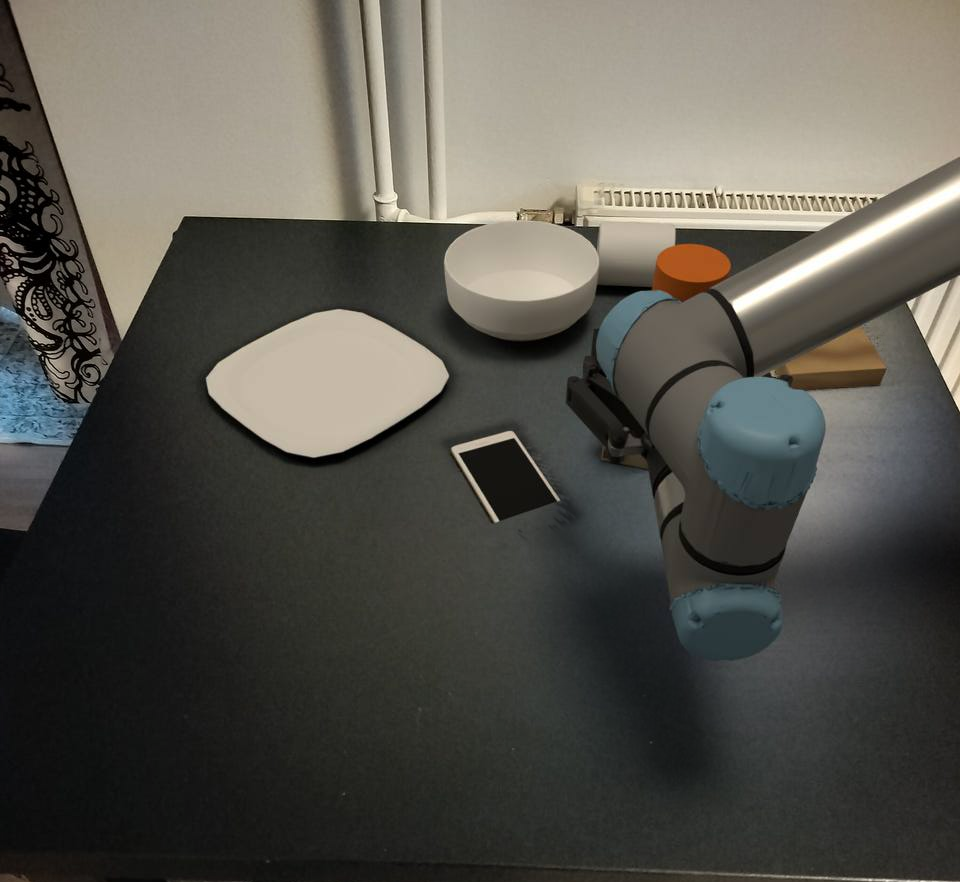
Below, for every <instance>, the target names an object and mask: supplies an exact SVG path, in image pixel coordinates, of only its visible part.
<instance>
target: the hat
mask: <svg viewBox="0 0 960 882" xmlns="http://www.w3.org/2000/svg"><path fill="white" fill-rule="evenodd" d="M731 268H732V265H731V261H730V259H729V257H728V256H727V255H726V254H725V253H723V252H722V251H720V250H718V249H716V248H714V247H711V246H707V245H703V244H696V243H681V244H675V246H671V247H668V248H666V249H665V250H663V251H662V252H661V253H660V254H659V255H658V257H657V260H656V267H655V273H654V280H653V286H652V287H651V291H652V290H660V291H664V292H666V293H668V294H670V295H671V296H672V297H675V298H676V299H678V300H679V301H681V302H682V303H683V302H684V301H686V300H688V299H690V298H692V297H694V296H696V295H697V294H699V293H703V292H705V291H706V290H708V289H709V288H711V287H713V286H715V285H716V284H718V283H720V282H722V281H724V280H726V279H728V278H730V272H731Z"/></svg>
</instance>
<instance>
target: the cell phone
mask: <svg viewBox="0 0 960 882" xmlns="http://www.w3.org/2000/svg"><path fill="white" fill-rule="evenodd" d="M450 449H451V454H452V456H453V457H454V459H455V461H456V462H457V464H458V465H459V467H460V469H461V471H462V472H463V474H464V475H465V477H466V479H467V481H468V483H469V484H470V485H471V488H472V489H473V490H474V493H475V494H476V496H477V497H478V499H479V500H480V502H481V504H482V505H483V507H484V509H485V510H486V512H487V513H488V516H489V517H490V519H491V521H492V522H493V524H496V523H498V522H501V521H505V520H507V519H510V518H513V517H517V516H519V515H522V514H524V513H528V512H531V511H534V510H536V509H539V508H543V507H545V506H548V505H551V504H554V503H557V502H559V501H561V499H560V497H559V496H558V495H557V493H556V491H555V490H554V489H553V488H552V485H550V483H549V482H548V480H547V478H546V477H545V475H544V474H543V473H542V471H541V470H540V468H539V467H538V466H537V464H536V462H535V461H534V460H533V458H532V456H531V455H530V454H529V452H528V451H527V449H526V447H524V445H523V444H522V442H521V440H520V439H519V437H518V436H517V435H516V433H515V432H514V431H513V430H507V431H503V432H499V433H495V434H493V435H489V436H486V437H482V438H479V439H474V440H472V441H468V442H464V443H460V444H457V445H454V446H452V447H451V448H450Z"/></svg>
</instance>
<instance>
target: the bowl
mask: <svg viewBox="0 0 960 882" xmlns="http://www.w3.org/2000/svg"><path fill="white" fill-rule="evenodd" d="M443 267H444V280H445V289H446V295H447V301H448V303H449V305H450V307H451V308H452V310H453V311H454V312H455V313H456V314H457V315H458V316H459V317H461V318H462V320H464V322H465V323H466V324H467V325H469V326H470V327H472V328H473V329H475V330H476V331H479V332H481V333H484V334H485V335H487V336H491V337H493V338H497V339H500V340H505V341H511V342H530V341H536V340H541V339H545V338H548V337H552V336H554V335H557V334H559V333H561V332H563V331H566V330H567V329H569V328H570V327H572V326H573V325H574V324H575V323H577V321H578V320H580V319H581V318H582V317H584V315H585V314H587V313H588V311H589V310H590V309H591V307H592V305H593V303H594V300H595V296H596V292H597V286H598V285H597V280H598V272H599V256H598V254H597V248H595V246H594V244H592V243H591V241H589V239H587V238H586V237H584V236H583V235H582V234H580V233H578V232H576V231H575V230H572V229H570V228H568V227H565V226H562V225H559V224H555V223H550V222H545V221H538V220H526V219H525V220H522V219H516V220H515V219H514V220H503V221H497V222H492V223H491V222H490V223H488V224H483V225H481V226H477V227H474V228H472V229H470V230H467V231H466V232H464V233H462V234H461V235H460V236H458V237H457V238H456V239H454V241H453V242H452V243H451V244H450V245H448V248H447V250H446V251H445V254H444V259H443Z"/></svg>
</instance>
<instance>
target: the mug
mask: <svg viewBox="0 0 960 882" xmlns="http://www.w3.org/2000/svg"><path fill="white" fill-rule="evenodd" d="M676 235H677V231H676V225H675V224H674V223H661V222H659V223H658V222H640V221H612V220H611V221H607V220H600V222H599V226H598V235H597V244H596V251H597V254H598V256H599V272H598V280H597V286H613V287H614V286H618V287H639V288H640V287H641V288H642V287H643V288H652V286H653V280H654V273H655V267H656V260H657V257H658V255H659V254H660V253H661V252H662V251H663V250H665V249H666V248H668V247H671V246H675V245H676Z"/></svg>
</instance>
